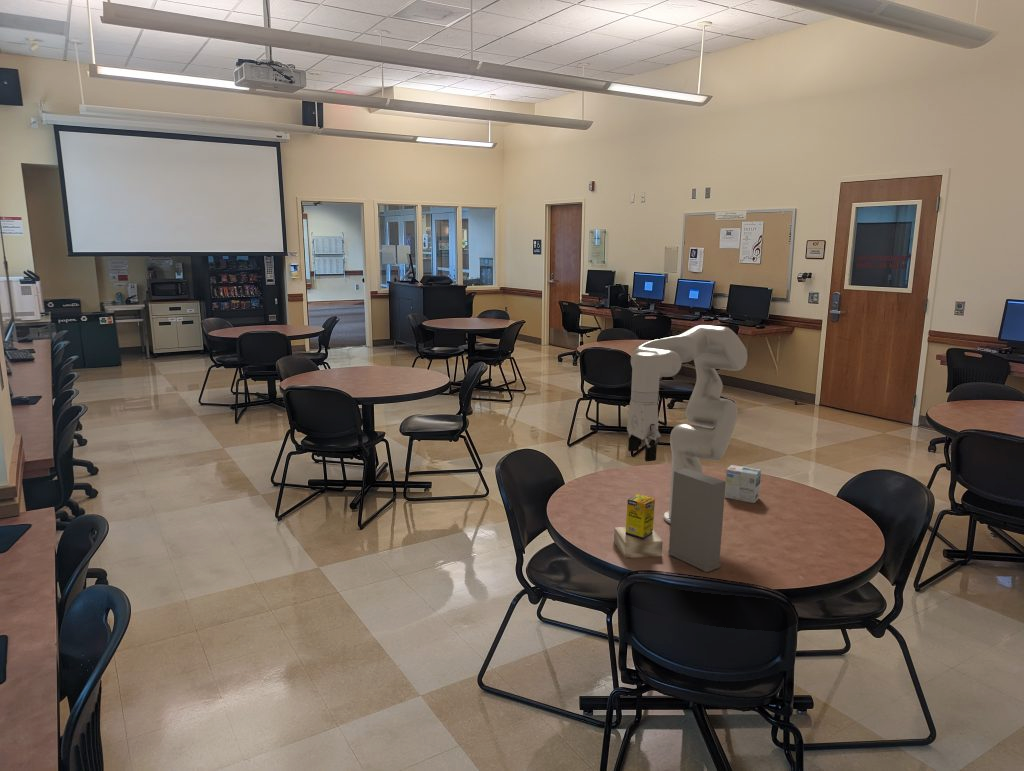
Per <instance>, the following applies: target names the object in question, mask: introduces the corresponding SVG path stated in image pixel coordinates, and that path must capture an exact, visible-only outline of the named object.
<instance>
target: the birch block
mask: <svg viewBox="0 0 1024 771" xmlns="http://www.w3.org/2000/svg"><path fill="white" fill-rule="evenodd" d="M613 531H614V532H613V543H614V542H615V543H614V544H615V546H616V545H617V546H616V547H617V549H618V550H619V552H620V551H621V552H620V554H621V555H622V554H623V555H622V556H623V558H624V557H631V558H644V557H643V556H651V557H652V556H653V557H662V556H663V544H664V542H663V539H662V538H661V537H660V536H659V535H658V534H657V533H656V531H655V530H654V529H653V534H651V535H649V536H648V537H646V538H644V539H643V540H642V539H639V538H636V537H633V536H629V535H626V534H625V533H626V526H620V527H619V526H618V527H616V526H615V527H614V530H613ZM653 557H652V558H653Z"/></svg>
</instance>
